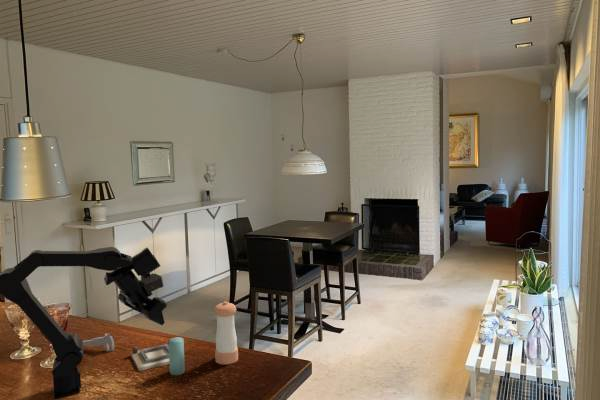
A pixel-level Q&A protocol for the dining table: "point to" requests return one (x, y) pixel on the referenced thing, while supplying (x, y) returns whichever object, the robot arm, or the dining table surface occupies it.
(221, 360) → the salt shaker
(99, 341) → the caliper
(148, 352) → the board
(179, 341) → the pin
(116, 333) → the dining table surface
